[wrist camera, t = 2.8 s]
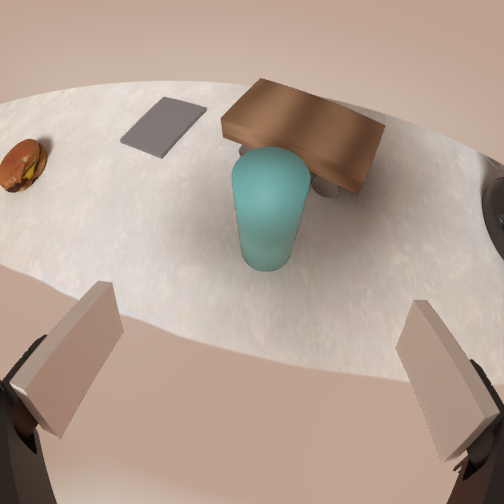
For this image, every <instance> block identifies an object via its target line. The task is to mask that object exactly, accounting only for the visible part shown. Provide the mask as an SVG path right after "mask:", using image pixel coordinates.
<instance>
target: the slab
mask: <svg viewBox="0 0 504 504" xmlns="http://www.w3.org/2000/svg"><path fill="white" fill-rule="evenodd" d="M221 125H222V132H223V137H224V138H226V139H229V140H232V141H235V142H237V143H240V144H243V145H242V146H241V148H240V149H239V153H240V156H243V155H244V154H245V153H247V152H249V151H251V150H253V149H256V148H260V147H279V148H283V149H286V150H289V151H291V152H293V153H294V154H296V155H297V156H299V157H300V158H301V159H302V160H303V161H304V163H305V164H306V166H307V167H308V170H309V172H310V173H313V174H315V177H314V178H313V180H312V182H311V185H312V188H313V189H314V190H315V191H316V192H317V193H318V194H320V195H321V196H324V197H328V198H332V197H335V196H336V195H337V193H338V190H339V188H340V187H343V188H345V189H347V190H349V191H351V192H353V193H355V194H357V195H358V193H359V191H360V189H361V187H362V185H363V183H364V181H365V179H366V177H367V175H368V172H369V170H370V167H371V164H372V162H373V159H374V156H375V153H376V151H377V148H378V145H379V142H380V140H381V137H382V134H383V131H384V128H385V125H383V124H381V123H379V122H377V121H375V120H372V119H370V118H368V117H366V116H364V115H362V114H359V113H357V112H355V111H352V110H350V109H348V108H345V107H343V106H341V105H338V104H336V103H333V102H331V101H328V100H325V99H323V98H320V97H317V96H315V95H312V94H308V93H306V92H303V91H301V90H298V89H295V88H292V87H288V86H285V85H282V84H279V83H275V82H272V81H269V80H265V79H262V78H260V79H259V80H258V81H257V82H256V83H255V84H254V85H253V86H252V87H251V88H250V89H249V90H248V91H247V92H246V93H245V94H244V95H243V96H242V97H241V98H240V99H239V100H238V101H237V102H236V103H235V104H234V105H233V106H232V107H231V108H230V109H229V110H228V111H227V112H226V113H225V114H224V115H223V116H222V117H221Z"/></svg>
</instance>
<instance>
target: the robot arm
mask: <svg viewBox="0 0 504 504" xmlns="http://www.w3.org/2000/svg"><path fill="white" fill-rule="evenodd" d="M483 213H484V218H485V222H486V225H487V228H488V231H489V234H490V236H491V239H492V241H493V243H494V245H495V247H496V248H497V250H498V252H499V253H500V255H501V256H502V258H503V259H504V177H502V178H498V179H496V180H495V181H494V182H493V183H492V184H491V185H490V186H489V187H488V188H487V189H486V190H485V192H484V196H483ZM122 333H123V327H122V324H121V320H120V315H119V311H118V307H117V303H116V298H115V294H114V289H113V284H112V282H104V281H98V282H97V283H96V284H95V285H94V286H93V287H92V288H91V289H90V290H89V291H88V292H87V293H86V294H85V295H84V296H83V297H82V298H81V299H80V300H79V301H78V303H77V304H75V306H74V307H73V308H72V309H71V310H70V311H69V312H68V313H67V314H66V315H65V316H64V317H63V319H62V320H61V321H60V322H59V323H58V324H57V325H56V326H55V328H54V329H53V330H52V331H51V332H50V333H49V334H48V335H44V336H42V337H41V338H39V339H37V340H36V341H35V342H34V343H33V344H32V345H31V346H30V348H29V349H28V351H26V352H25V353H24V355H23V357H22V358H20V359H19V361H18V362H17V363H16V364H15V365H14V367H13V368H12V369H11V371H10V372H9V373H8V374H7V375H6V377H5V378H4V379H3V380H2V382H1V380H0V504H57V503H56V499H55V496H54V494H53V490H52V487H51V484H50V480H49V477H48V473H47V470H46V466H45V462H44V458H43V453H42V449H41V444H40V440H39V435H38V432H37V430H36V426H37V425H38V424H39V425H40V426H41V427H42V429H43V430H44V431H45V432H46V433H48V434H50V435H52V436H54V437H56V438H58V439H61V438H62V436H63V434H64V432H65V430H66V428H67V427H68V425H69V423H70V421H71V419H72V417H73V416H74V414H75V412H76V410H77V408H78V407H79V405H80V403H81V401H82V400H83V398H84V396H85V394H86V393H87V391H88V389H89V388H90V386H91V384H92V382H93V381H94V379H95V377H96V376H97V374H98V372H99V371H100V369H101V367H102V366H103V364H104V362H105V361H106V359H107V358H108V356H109V354H110V353H111V351H112V350H113V348H114V346H115V345H116V343H117V342H118V340H119V338H120V337H121V335H122ZM396 351H397V353H398V355H399V357H400V359H401V361H402V364H403V366H404V368H405V370H406V373H407V375H408V377H409V379H410V382H411V384H412V386H413V388H414V391H415V393H416V395H417V398H418V401H419V403H420V406H421V408H422V411H423V413H424V416H425V418H426V421H427V424H428V426H429V429H430V432H431V434H432V437H433V440H434V443H435V445H436V448H437V451H438V454H439V457H440V460H441V463H444V462H447V461H450V460H453V459H456V458H458V457H459V456H460V455H461V454H462V453H463V452H464V451H465V450H467V452H468V455H467V456H466V457H465V458H464V459H463V460H462V461H461V462H460V463H459V464H458V465H456V466H455V468H454V469H453V471H456V470H457V469H458V468H459V467H460V466H462V467H461V470H460V471H459V472H458V473H459V476H458V478H457V481H456V483H455V486H454V488H453V490H452V493H451V495H450V498H449V500H448V502H447V504H504V404H503V403H502V401H501V399H500V397H499V396H498V394H497V392H496V391H495V389H494V387H493V385H492V386H491V382H490V381H489V379H488V378H487V376H486V374H485V373H484V371H483V369H482V368H481V367H480V366H479V365H478V364H477V363H476V362H475V361H474V360H472V359H471V360H469V359H468V357H467V356H466V354H465V353H464V351H463V350H462V348H461V347H460V345H459V344H458V342H457V341H456V339H455V338H454V337H453V335H452V334H451V332H450V331H449V329H448V328H447V327H446V325H445V324H444V322H443V321H442V320H441V318H440V317H439V316H438V314H437V313H436V312H435V310H434V309H433V308H432V306H431V305H430V304H429V302H428V301H427V300H413V303H412V306H411V309H410V311H409V314H408V317H407V320H406V322H405V325H404V328H403V330H402V333H401V336H400V338H399V341H398V343H397V346H396Z"/></svg>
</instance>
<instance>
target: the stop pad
mask: <svg viewBox="0 0 504 504" xmlns="http://www.w3.org/2000/svg"><path fill="white" fill-rule="evenodd" d="M205 112H206V108H205V107H202V106H198V105H194V104H191V103H187V102H183V101H179V100H175V99H171V98H167V97H163V98H162V99H161V100H160V101H159V102H158V103H156V104H155V105H154V106H153V107H152V108H151V109H150V110H149V111H148V112H147V113H146V114H145V115H144V116H143V117H142V118H141V119H140V120H139V121H138V122H137V123H136V124H135V125H134V126H133V127H132V128H131V129H130V130H129V131H128V132H127V133H126V134H125V135H124V136H123V137H122V138H121V139H120V141H121V143H123V144H126V145H129V146H131V147H134V148H136V149H139V150H142V151H144V152H147V153H149V154H152V155H154V156H157V157H159V158H163V157H164V156H165V155H166V154H167V152H168V151H169V150H170V149H171V148H172V147H173V146H174V144H175V143H176V142H177V141H178V140H179V139H180V138H181V137H182V136H183V135H184V134H185V132H186V131H187V130H188V129H189V128H190V127H191V126H192V125H193V124H194V123H195V122H196V121H197V120H198V119H199V118H200V117H201V116H202V115H203V114H204V113H205Z"/></svg>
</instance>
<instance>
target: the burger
mask: <svg viewBox="0 0 504 504" xmlns="http://www.w3.org/2000/svg"><path fill="white" fill-rule="evenodd" d="M46 159H47V155H46V152H45V149H44V147H43V146H42V145H41V144H40V143H38V142H36V141H35V140H33V139H27V140H24V141H22V142H20V143H18V144H17V145H16V146H15V147H13V148H12V149H11V150H10V151H9V152H8V154H7V155H6V156H5V157H4V159H3V160H2V162H1V164H0V185H1V186H2V187H3V188H4V189H5V190H6V191H8V192H12V193H13V192H19V191H23V190H25V189H26V188H27V187H29V186H30V185H31V184H32V182H33V179H35V178H37V177H39V176H40V175H41V173H42V172H43V170H44V168H45V165H46V162H47V161H46Z"/></svg>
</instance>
